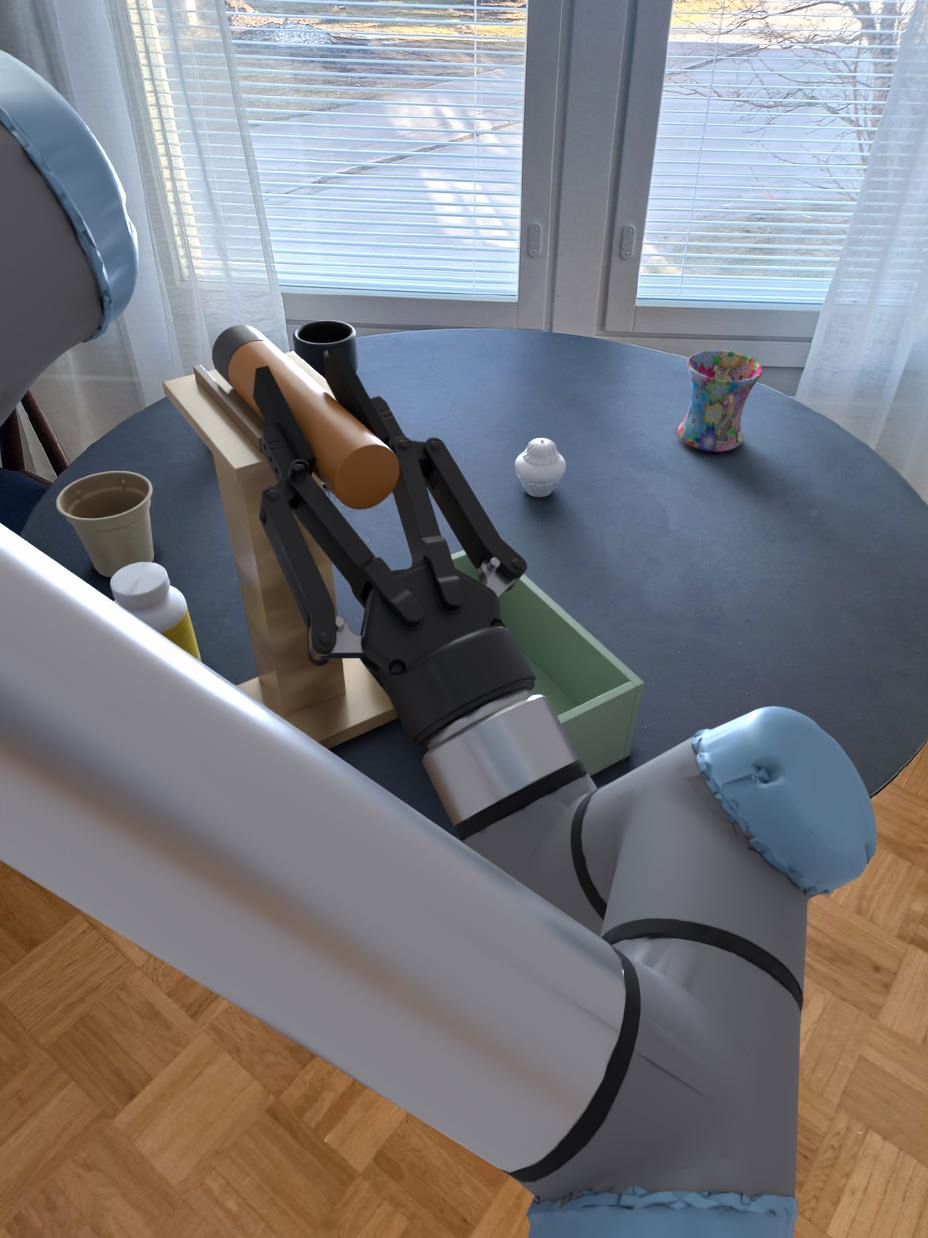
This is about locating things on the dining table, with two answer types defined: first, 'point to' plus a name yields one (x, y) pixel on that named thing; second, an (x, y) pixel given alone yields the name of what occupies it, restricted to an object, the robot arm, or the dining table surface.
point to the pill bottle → (155, 603)
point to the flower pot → (110, 518)
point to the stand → (275, 573)
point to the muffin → (540, 467)
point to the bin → (571, 672)
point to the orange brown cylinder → (312, 419)
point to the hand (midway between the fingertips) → (297, 373)
